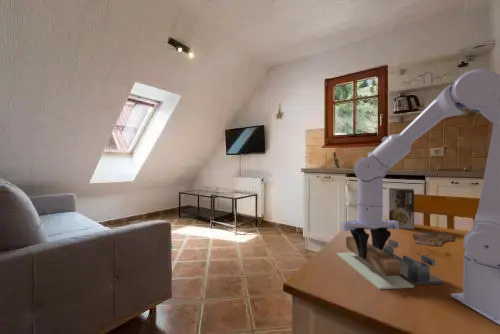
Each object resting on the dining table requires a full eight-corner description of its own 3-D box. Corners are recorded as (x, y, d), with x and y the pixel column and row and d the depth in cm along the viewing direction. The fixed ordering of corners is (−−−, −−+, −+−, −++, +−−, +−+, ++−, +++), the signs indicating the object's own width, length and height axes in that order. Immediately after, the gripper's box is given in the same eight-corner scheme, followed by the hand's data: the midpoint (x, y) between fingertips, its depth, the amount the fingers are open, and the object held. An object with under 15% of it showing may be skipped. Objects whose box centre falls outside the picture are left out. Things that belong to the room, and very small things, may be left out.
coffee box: (413, 226, 103) (414, 188, 103) (414, 230, 98) (414, 190, 97) (389, 223, 108) (389, 187, 108) (388, 226, 102) (388, 188, 102)
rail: (400, 275, 53) (400, 261, 53) (386, 276, 53) (386, 261, 53) (356, 247, 71) (356, 236, 71) (346, 247, 71) (346, 236, 71)
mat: (413, 287, 53) (413, 285, 53) (379, 289, 52) (379, 287, 52) (362, 253, 73) (362, 251, 73) (336, 254, 72) (336, 252, 72)
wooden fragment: (436, 249, 76) (436, 246, 76) (399, 240, 86) (399, 237, 86) (465, 236, 90) (465, 233, 90) (431, 230, 99) (431, 227, 99)
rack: (443, 283, 54) (443, 262, 54) (414, 284, 54) (414, 263, 54) (389, 253, 72) (389, 237, 72) (367, 254, 72) (367, 238, 72)
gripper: (386, 201, 67) (385, 250, 67) (335, 202, 65) (335, 252, 65) (405, 206, 60) (404, 260, 60) (349, 207, 58) (348, 263, 58)
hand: (369, 257), depth 62 cm, fingers closed on rail, 3 cm apart
